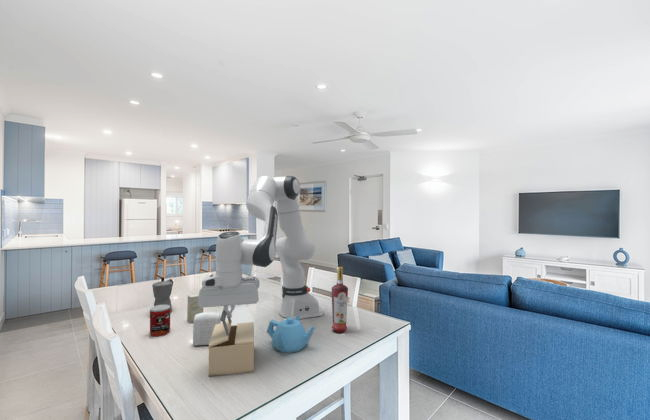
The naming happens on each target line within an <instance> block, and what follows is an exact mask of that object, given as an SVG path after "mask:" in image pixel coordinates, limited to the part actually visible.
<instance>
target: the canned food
mask: <svg viewBox="0 0 650 420" xmlns="http://www.w3.org/2000/svg"><path fill="white" fill-rule="evenodd" d="M170 331H171V313H170V305H157V306H154V305H153V306H151V307H150V308H149V335H150V336H152V337H162V336H165V335H168V333H170Z"/></svg>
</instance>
